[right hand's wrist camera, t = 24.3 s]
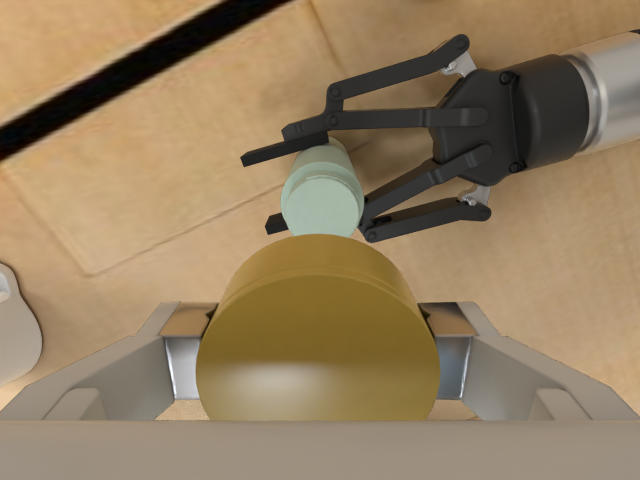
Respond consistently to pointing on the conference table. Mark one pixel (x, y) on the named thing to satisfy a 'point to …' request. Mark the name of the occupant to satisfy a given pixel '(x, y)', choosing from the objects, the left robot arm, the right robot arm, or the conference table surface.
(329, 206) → the jar
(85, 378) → the right robot arm
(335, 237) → the lid
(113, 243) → the conference table surface
